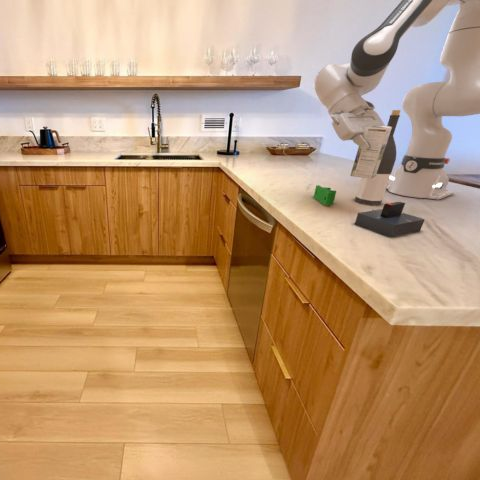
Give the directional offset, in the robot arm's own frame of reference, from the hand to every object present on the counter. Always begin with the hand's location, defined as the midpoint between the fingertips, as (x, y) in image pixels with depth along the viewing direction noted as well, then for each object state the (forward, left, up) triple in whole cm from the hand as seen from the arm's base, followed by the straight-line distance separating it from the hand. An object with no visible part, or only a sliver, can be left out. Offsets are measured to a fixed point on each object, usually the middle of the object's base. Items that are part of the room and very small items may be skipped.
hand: (373, 148), depth 84 cm
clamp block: (+5, +13, -20) cm, 24 cm away
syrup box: (0, -1, -9) cm, 9 cm away
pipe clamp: (0, -12, -20) cm, 23 cm away
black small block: (+5, +13, -16) cm, 21 cm away
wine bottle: (-14, -6, -20) cm, 25 cm away
